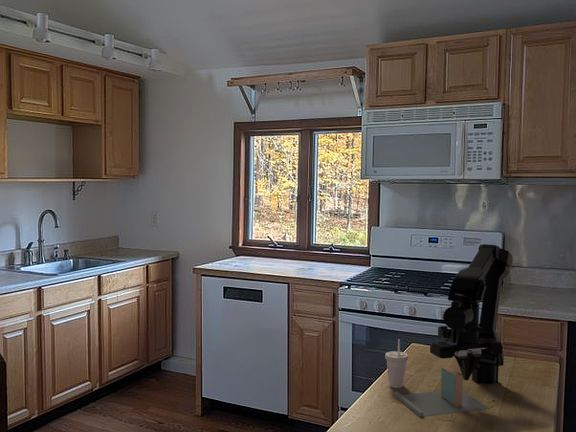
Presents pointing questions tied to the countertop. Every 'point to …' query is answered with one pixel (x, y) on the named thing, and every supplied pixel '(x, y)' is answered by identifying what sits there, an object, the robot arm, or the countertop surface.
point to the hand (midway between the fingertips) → (465, 379)
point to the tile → (451, 386)
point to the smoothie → (396, 367)
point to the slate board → (438, 403)
